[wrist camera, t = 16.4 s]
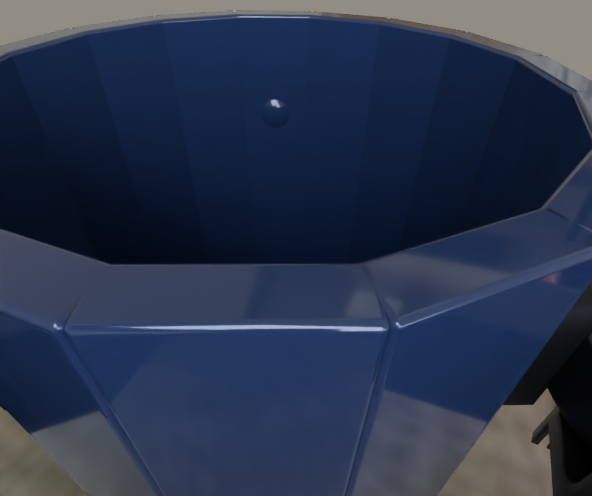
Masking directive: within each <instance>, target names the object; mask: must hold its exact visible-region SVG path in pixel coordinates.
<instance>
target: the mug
mask: <svg viewBox="0 0 592 496" xmlns="http://www.w3.org/2000/svg"><path fill="white" fill-rule="evenodd" d="M591 281H592V81H591V80H589V79H587V78H586V77H584V76H582V75H580V74H578V73H576V72H575V71H573V70H571V69H569V68H567V67H565V66H564V65H561V64H560V63H558V62H556V61H554V60H552V59H551V58H549V57H547V56H543V55H542V54H539V53H536V52H532V51H529V50H526V49H523V48H519V47H516V46H512V45H509V44H506V43H503V42H499V41H496V40H493V39H489V38H486V37H483V36H480V35H476V34H473V33H470V32H467V33H466V32H465V31H461V30H455V29H449V28H443V27H438V26H432V25H427V24H421V23H415V22H410V21H404V20H398V19H392V18H390V19H388V18H385V17H373V16H361V15H350V14H338V13H327V12H315V11H314V12H310V11H242V10H241V11H240V10H239V11H238V10H237V11H235V12H234V11H218V12H202V13H186V14H170V15H157V16H155V17H154V16H148V17H141V18H134V19H127V20H120V21H114V22H107V23H101V24H93V25H87V26H80V27H73V28H72V29H64V30H60V31H56V32H52V33H48V34H45V35H40V36H36V37H33V38H29V39H25V40H21V41H17V42H13V43H9V44H5V45H2V46H0V404H1V405H2V406H3V407H4V408H5V409H6V410H7V411H8V412H9V413H10V414H11V415H12V416H13V417H14V418H15V420H16V421H17V422H18V423H19V424H20V425H21V426H22V427H23V428H24V429H25V430H26V431H27V432H28V433H29V434H30V435H31V436H32V437H33V438H34V439H35V440H36V441H37V442H38V443H39V444H40V445H41V446H42V447H43V448H44V449H45V450H46V451H47V452H48V454H49V455H50V456H51V457H52V458H53V459H54V460H55V461H56V462H57V463H58V464H59V465H60V466H61V467H62V468H63V469H64V470H65V471H66V472H67V473H68V474H69V475H70V476H71V477H72V478H73V479H74V480H75V481H76V482H77V483H78V484H79V485H80V486H81V488H82V489H83V490H84V491H85V492H86V493H87V494H88V495H89V496H437V495H438V494H439V492H440V491H441V490H442V488H443V487H444V485H445V484H446V483H447V481H448V480H449V478H450V477H451V476H452V474H453V473H454V471H455V470H456V469H457V467H458V466H459V465H460V463H461V462H462V460H463V459H464V458H465V456H466V455H467V453H468V452H469V451H470V449H471V448H472V446H473V445H474V444H475V442H476V441H477V440H478V438H479V437H480V435H481V434H482V433H483V431H484V430H485V428H486V427H487V426H488V424H489V423H490V421H491V420H492V419H493V417H494V416H495V415H496V413H497V412H498V410H499V409H500V408H501V406H502V405H503V403H504V402H505V401H506V399H507V398H508V396H509V395H510V394H511V392H512V391H513V390H514V388H515V387H516V385H517V384H518V383H519V381H520V380H521V378H522V377H523V376H524V374H525V373H526V371H527V370H528V369H529V367H530V366H531V365H532V363H533V362H534V360H535V359H536V358H537V356H538V355H539V353H540V352H541V351H542V349H543V348H544V346H545V345H546V344H547V342H548V341H549V340H550V338H551V337H552V335H553V334H554V333H555V331H556V330H557V328H558V327H559V326H560V324H561V323H562V321H563V320H564V319H565V317H566V316H567V315H568V313H569V312H570V310H571V309H572V308H573V306H574V305H575V303H576V302H577V301H578V299H579V298H580V296H581V295H582V294H583V292H584V291H585V290H586V288H587V287H588V285H589V284H590V283H591Z"/></svg>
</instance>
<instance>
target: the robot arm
mask: <svg viewBox="0 0 592 496" xmlns="http://www.w3.org/2000/svg"><path fill="white" fill-rule="evenodd" d="M546 388H548V390H549V392H550V394H551V395H552V397H553V399H554V401H555V403H556V404H557V406H556V408H555V409H554V410H553V411H552V412H551V413H550V414H549V415H548V416H547V417H546V419H545V420H544V421H543V422H542V423H541V424H540V425H539V426H538V427H537V428H536V430H535V431H534V432H533V436H532V440H531V442H532V443H535V444H537V445H538V444H539V443H540V442H541V441H542V440H543V438H544V437H545V436H546V435H547V434H548V433H549V439H550V443H549V444H548V446H547V448H548V449H550V455H551V471H552V487H553V496H592V281H591V283H590V284H589V285H588V287H587V288H586V290H585V291H584V292H583V294H582V295H581V296H580V298H579V299H578V301H577V302H576V303H575V305H574V306H573V308H572V309H571V310H570V312H569V313H568V315H567V316H566V317H565V319H564V320H563V321H562V323H561V324H560V326H559V327H558V328H557V330H556V331H555V333H554V334H553V335H552V337H551V338H550V340H549V341H548V342H547V344H546V345H545V346H544V348H543V349H542V351H541V352H540V353H539V355H538V356H537V358H536V359H535V360H534V362H533V363H532V365H531V366H530V367H529V369H528V370H527V371H526V373H525V374H524V376H523V377H522V378H521V380H520V381H519V383H518V384H517V385H516V387H515V388H514V390H513V391H512V392H511V394H510V395H509V396H508V398H507V399H506V401H505V402H504V403H503V405H533V404H534V403H535V402H536V400H537V399H538V398H539V397H540V396H541V394H542V393H543V392H544V391H545V389H546ZM0 406H1V407H2V408H3V409H4V410H6V409H5V408H4V407H3V406H2V405H1V404H0Z"/></svg>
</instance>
